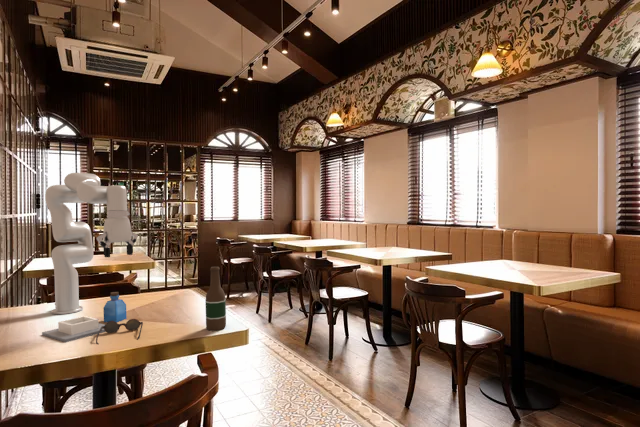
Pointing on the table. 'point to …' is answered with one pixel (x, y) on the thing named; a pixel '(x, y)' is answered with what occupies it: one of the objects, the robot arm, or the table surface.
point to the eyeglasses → (114, 326)
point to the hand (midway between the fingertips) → (118, 256)
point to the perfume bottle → (115, 309)
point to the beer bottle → (215, 303)
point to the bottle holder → (75, 329)
